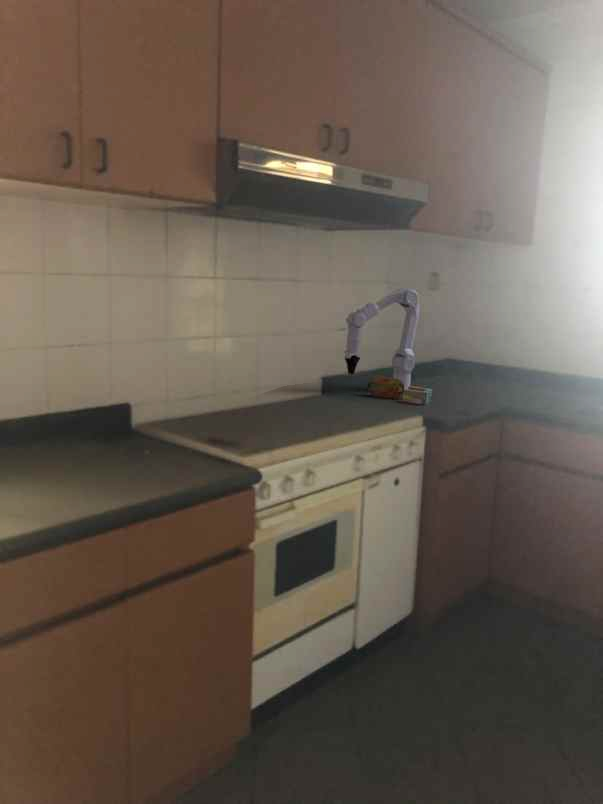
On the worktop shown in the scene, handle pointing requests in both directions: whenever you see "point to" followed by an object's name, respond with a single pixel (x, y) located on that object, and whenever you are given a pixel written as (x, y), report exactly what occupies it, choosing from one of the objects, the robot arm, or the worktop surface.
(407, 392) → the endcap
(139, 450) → the worktop surface
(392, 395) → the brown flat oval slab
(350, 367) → the robot arm
